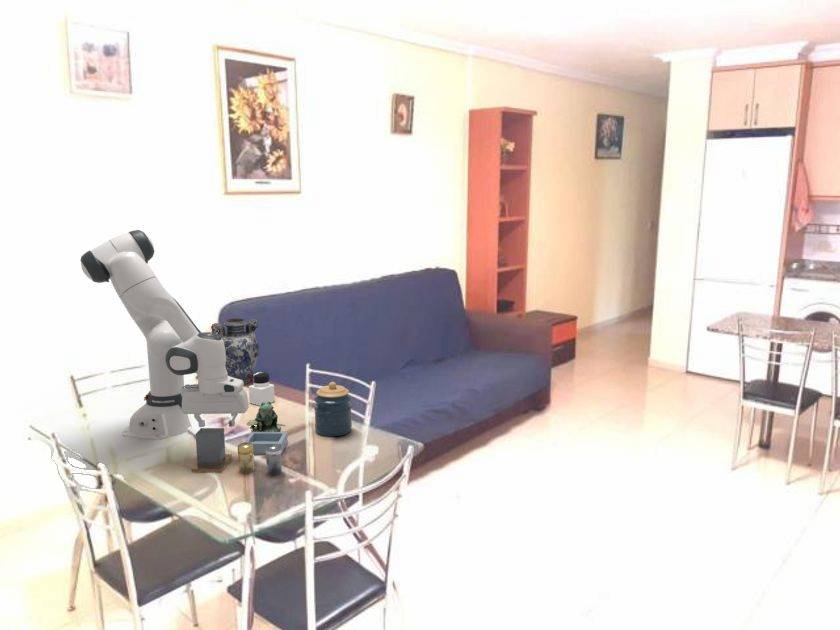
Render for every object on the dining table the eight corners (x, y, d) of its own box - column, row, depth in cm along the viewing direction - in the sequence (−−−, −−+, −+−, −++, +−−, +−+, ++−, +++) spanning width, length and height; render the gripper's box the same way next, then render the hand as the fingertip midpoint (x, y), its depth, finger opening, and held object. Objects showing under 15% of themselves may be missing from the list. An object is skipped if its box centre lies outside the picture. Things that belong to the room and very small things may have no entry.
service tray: (243, 454, 202) (243, 443, 201) (251, 441, 212) (251, 432, 211) (281, 454, 202) (281, 443, 201) (287, 442, 212) (287, 432, 211)
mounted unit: (191, 472, 188) (189, 437, 186) (203, 457, 199) (201, 424, 197) (221, 472, 188) (219, 437, 186) (232, 457, 199) (230, 424, 197)
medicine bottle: (275, 401, 252) (274, 372, 250) (261, 406, 247) (260, 377, 244) (262, 398, 256) (261, 370, 254) (249, 403, 250) (247, 374, 248)
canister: (309, 427, 225) (308, 379, 222) (342, 421, 231) (342, 374, 228) (323, 439, 214) (322, 389, 211) (358, 432, 220) (357, 384, 217)
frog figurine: (241, 446, 209) (239, 412, 207) (235, 427, 225) (233, 396, 223) (295, 438, 216) (294, 406, 213) (285, 421, 232) (284, 390, 230)
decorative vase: (251, 373, 292) (248, 313, 286) (270, 382, 278) (267, 320, 272) (205, 381, 278) (202, 319, 273) (223, 392, 264) (219, 326, 259)
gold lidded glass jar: (236, 473, 188) (235, 448, 186) (241, 467, 192) (239, 442, 191) (252, 473, 188) (251, 448, 186) (256, 467, 192) (255, 442, 191)
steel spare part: (264, 475, 187) (263, 449, 185) (268, 468, 191) (267, 443, 190) (280, 475, 187) (279, 449, 185) (283, 468, 191) (282, 443, 190)
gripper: (176, 387, 194) (180, 430, 197) (242, 386, 194) (245, 429, 196) (184, 381, 200) (187, 422, 203) (248, 380, 200) (251, 422, 202)
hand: (216, 426), depth 200 cm, fingers open, 8 cm apart
